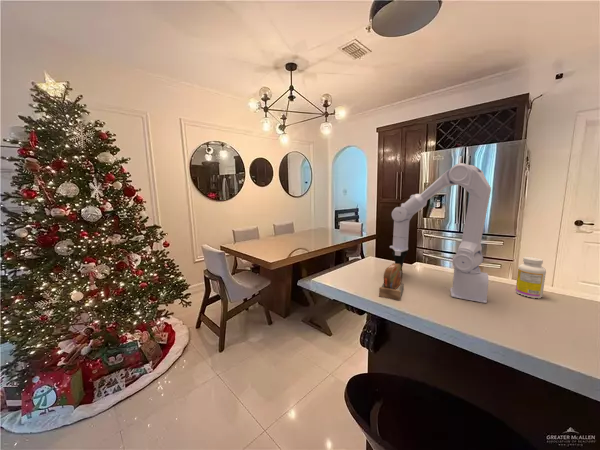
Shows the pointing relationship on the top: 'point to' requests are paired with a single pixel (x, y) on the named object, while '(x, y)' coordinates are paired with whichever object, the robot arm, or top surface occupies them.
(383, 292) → the dock
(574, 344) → the top surface
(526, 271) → the supplement bottle
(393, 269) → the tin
